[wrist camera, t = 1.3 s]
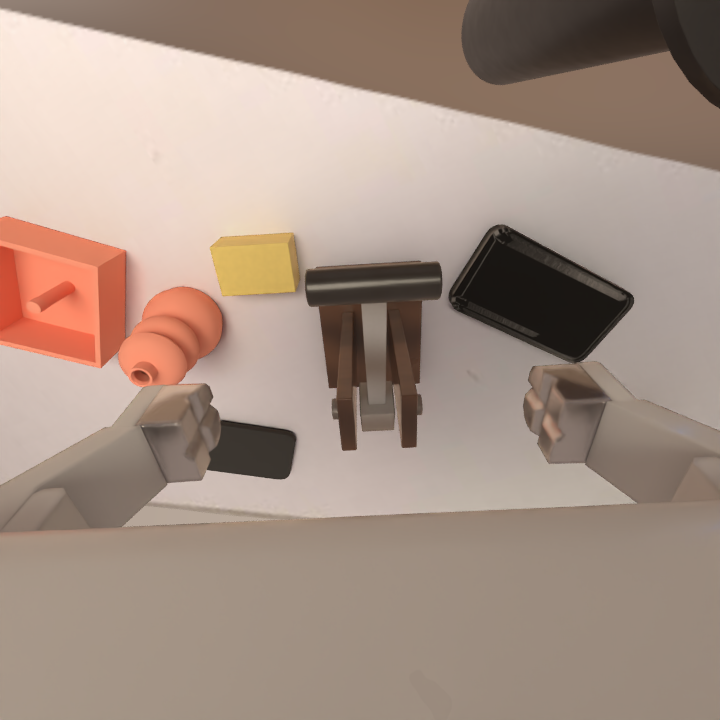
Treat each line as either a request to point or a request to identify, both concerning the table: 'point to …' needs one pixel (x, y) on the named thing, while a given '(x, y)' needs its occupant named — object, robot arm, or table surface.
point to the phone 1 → (253, 451)
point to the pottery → (95, 307)
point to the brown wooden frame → (350, 368)
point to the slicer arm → (374, 319)
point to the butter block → (256, 264)
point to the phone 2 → (538, 295)
